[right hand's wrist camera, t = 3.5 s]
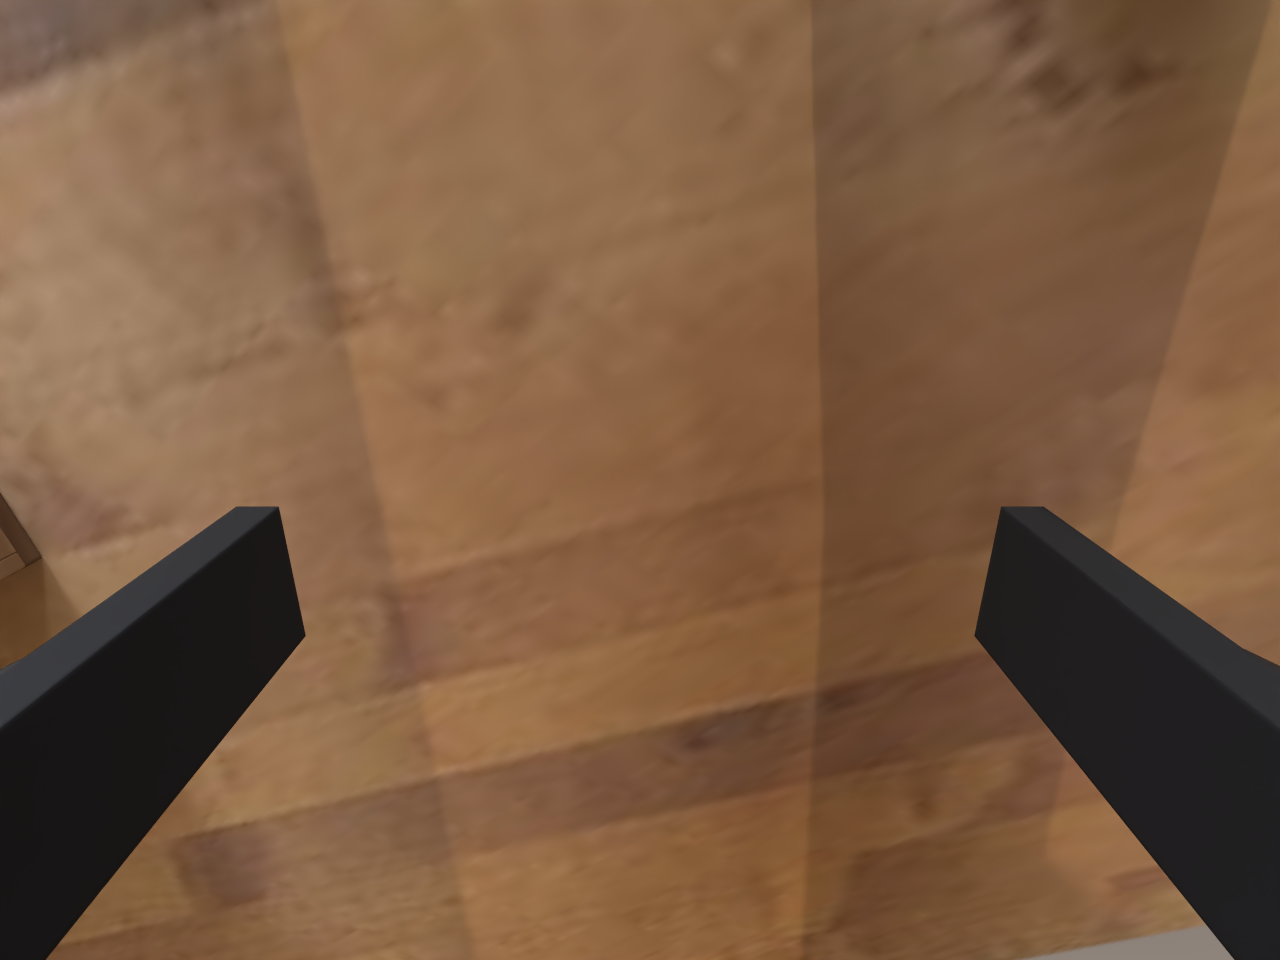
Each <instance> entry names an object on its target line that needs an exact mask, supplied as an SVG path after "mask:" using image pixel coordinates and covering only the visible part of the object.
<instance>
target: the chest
mask: <svg viewBox="0 0 1280 960" xmlns="http://www.w3.org/2000/svg"><path fill="white" fill-rule="evenodd" d="M41 558H42V557H41V556H40V554H39V553H38V551H37V550H36V548H35V547H34V545H33V544H32V542H31V541H30V539H29V538H28V536H27V534H26V533H25V531H24V530H23V528H22V527H21V525H20V524H19V522H18V521H17V519H16V518H15V516H14V515H13V513H12V512H11V510H10V509H9V507H8V506H7V504H6V503H5V501H4V500H3V498H2V497H1V495H0V581H1V580H2V579H4V578H6V577H8V576H9V575H11V574H13V573H15V572H17V571H18V570H20V569H22V568H24V567H27V566H28V565H30V564H32V563H34V562H35V561H37V560H39V559H41Z"/></svg>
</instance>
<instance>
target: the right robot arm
mask: <svg viewBox="0 0 1280 960" xmlns="http://www.w3.org/2000/svg"><path fill="white" fill-rule="evenodd" d="M305 636H306V635H305V630H304V626H303V621H302V616H301V611H300V606H299V602H298V597H297V592H296V587H295V583H294V578H293V573H292V568H291V563H290V559H289V554H288V549H287V544H286V539H285V535H284V530H283V525H282V520H281V515H280V511H279V507H235V508H234V509H232V510H231V511H230V512H228V513H227V514H225V515H224V516H223V517H221V518H220V519H218V520H217V521H216V522H214V523H213V524H211V525H210V526H209V527H207V528H206V529H204V530H203V531H202V532H200V533H199V534H197V535H196V536H195V537H193V538H192V539H190V540H189V541H188V542H186V543H185V544H183V545H182V546H181V547H179V548H178V549H176V550H175V551H174V552H172V553H171V554H169V555H168V556H166V557H165V558H164V559H162V560H161V561H159V562H158V563H157V564H155V565H154V566H152V567H151V568H150V569H148V570H147V571H145V572H144V573H143V574H141V575H140V576H138V577H137V578H136V579H134V580H133V581H131V582H130V583H129V584H127V585H126V586H124V587H123V588H122V589H120V590H119V591H117V592H116V593H115V594H113V595H112V596H110V597H109V598H108V599H106V600H105V601H103V602H102V603H101V604H99V605H98V606H96V607H95V608H93V609H92V610H91V611H89V612H88V613H86V614H85V615H84V616H82V617H81V618H79V619H78V620H77V621H75V622H74V623H72V624H71V625H70V626H68V627H67V628H65V629H64V630H63V631H61V632H60V633H58V634H57V635H56V636H54V637H53V638H51V639H50V640H49V641H47V642H46V643H44V644H43V645H42V646H40V647H39V648H37V649H36V650H35V651H33V652H32V653H30V654H29V655H27V656H26V657H24V658H22V659H20V660H18V661H16V662H14V663H12V664H10V665H8V666H6V667H4V668H2V669H0V960H46V958H47V957H48V956H49V955H50V954H51V952H52V951H53V950H54V949H55V947H56V946H57V945H58V944H59V942H60V941H61V940H62V939H63V937H64V936H65V935H66V934H67V932H68V931H69V930H70V929H71V927H72V926H73V925H74V924H75V922H76V921H77V920H78V919H79V917H80V916H81V915H82V914H83V912H84V911H85V910H86V909H87V907H88V906H89V905H90V904H91V902H92V901H93V900H94V899H95V897H96V896H97V895H98V894H99V892H100V891H101V890H102V889H103V887H104V886H105V885H106V884H107V883H108V881H109V880H110V879H111V878H112V876H113V875H114V874H115V873H116V871H117V870H118V869H119V868H120V866H121V865H122V864H123V863H124V861H125V860H126V859H127V858H128V856H129V855H130V854H131V853H132V851H133V850H134V849H135V848H136V846H137V845H138V844H139V843H140V841H141V840H142V839H143V838H144V836H145V835H146V834H147V833H148V831H149V830H150V829H151V828H152V826H153V825H154V824H155V823H156V821H157V820H158V819H159V818H160V816H161V815H162V814H163V813H164V812H165V810H166V809H167V808H168V807H169V805H170V804H171V803H172V802H173V800H174V799H175V798H176V797H177V795H178V794H179V793H180V792H181V790H182V789H183V788H184V787H185V785H186V784H187V783H188V782H189V780H190V779H191V778H192V777H193V775H194V774H195V773H196V772H197V770H198V769H199V768H200V767H201V765H202V764H203V763H204V762H205V760H206V759H207V758H208V757H209V755H210V754H211V753H212V752H213V750H214V749H215V748H216V747H217V746H218V744H219V743H220V742H221V741H222V739H223V738H224V737H225V736H226V734H227V733H228V732H229V731H230V729H231V728H232V727H233V726H234V724H235V723H236V722H237V721H238V719H239V718H240V717H241V716H242V714H243V713H244V712H245V711H246V709H247V708H248V707H249V706H250V704H251V703H252V702H253V701H254V699H255V698H256V697H257V696H258V694H259V693H260V692H261V691H262V689H263V688H264V687H265V686H266V684H267V683H268V682H269V681H270V679H271V678H272V677H273V676H274V675H275V673H276V672H277V671H278V670H279V668H280V667H281V666H282V665H283V663H284V662H285V661H286V660H287V658H288V657H289V656H290V655H291V653H292V652H293V651H294V650H295V648H296V647H297V646H298V645H299V643H300V642H301V641H302V640H303V638H304V637H305ZM974 636H975V637H976V638H977V640H978V641H979V642H980V643H981V645H982V646H983V647H984V648H985V650H986V651H987V652H988V653H989V655H990V656H991V657H992V658H993V660H994V661H995V662H996V663H997V665H998V666H999V667H1000V668H1001V670H1002V671H1003V672H1004V673H1005V675H1006V676H1007V677H1008V678H1009V679H1010V681H1011V682H1012V683H1013V684H1014V686H1015V687H1016V688H1017V689H1018V691H1019V692H1020V693H1021V694H1022V696H1023V697H1024V698H1025V699H1026V701H1027V702H1028V703H1029V704H1030V706H1031V707H1032V708H1033V709H1034V711H1035V712H1036V713H1037V714H1038V716H1039V717H1040V718H1041V719H1042V721H1043V722H1044V723H1045V724H1046V726H1047V727H1048V728H1049V729H1050V731H1051V732H1052V733H1053V734H1054V736H1055V737H1056V738H1057V739H1058V741H1059V742H1060V743H1061V744H1062V746H1063V747H1064V748H1065V749H1066V750H1067V752H1068V753H1069V754H1070V755H1071V757H1072V758H1073V759H1074V760H1075V762H1076V763H1077V764H1078V765H1079V767H1080V768H1081V769H1082V770H1083V772H1084V773H1085V774H1086V775H1087V777H1088V778H1089V779H1090V780H1091V782H1092V783H1093V784H1094V785H1095V787H1096V788H1097V789H1098V790H1099V792H1100V793H1101V794H1102V795H1103V797H1104V798H1105V799H1106V800H1107V802H1108V803H1109V804H1110V805H1111V807H1112V808H1113V809H1114V810H1115V812H1116V813H1117V814H1118V815H1119V817H1120V818H1121V819H1122V820H1123V821H1124V823H1125V824H1126V825H1127V826H1128V828H1129V829H1130V830H1131V831H1132V833H1133V834H1134V835H1135V836H1136V838H1137V839H1138V840H1139V841H1140V843H1141V844H1142V845H1143V846H1144V848H1145V849H1146V850H1147V851H1148V853H1149V854H1150V855H1151V856H1152V858H1153V859H1154V860H1155V861H1156V863H1157V864H1158V865H1159V866H1160V868H1161V869H1162V870H1163V871H1164V873H1165V874H1166V875H1167V876H1168V878H1169V879H1170V880H1171V881H1172V883H1173V884H1174V885H1175V886H1176V887H1177V889H1178V890H1179V891H1180V892H1181V894H1182V895H1183V896H1184V897H1185V899H1186V900H1187V901H1188V902H1189V904H1190V905H1191V906H1192V907H1193V909H1194V910H1195V911H1196V912H1197V914H1198V915H1199V916H1200V917H1201V919H1202V920H1203V921H1204V922H1205V924H1206V925H1207V926H1208V927H1209V929H1210V930H1211V931H1212V932H1213V934H1214V935H1215V936H1216V937H1217V939H1218V940H1219V941H1220V942H1221V944H1222V945H1223V946H1224V947H1225V948H1226V950H1227V951H1228V952H1229V954H1230V955H1231V956H1232V957H1233V958H1234V960H1280V666H1278V665H1276V664H1274V663H1272V662H1270V661H1268V660H1266V659H1264V658H1262V657H1260V656H1258V655H1256V654H1254V653H1251V652H1249V651H1247V650H1245V649H1243V648H1241V647H1240V646H1238V645H1237V644H1236V643H1234V642H1233V641H1231V640H1230V639H1229V638H1227V637H1226V636H1224V635H1223V634H1222V633H1220V632H1219V631H1217V630H1216V629H1215V628H1213V627H1212V626H1210V625H1209V624H1208V623H1206V622H1205V621H1203V620H1202V619H1201V618H1199V617H1198V616H1196V615H1195V614H1194V613H1192V612H1191V611H1189V610H1188V609H1187V608H1185V607H1184V606H1182V605H1181V604H1179V603H1178V602H1177V601H1175V600H1174V599H1172V598H1171V597H1170V596H1168V595H1167V594H1165V593H1164V592H1163V591H1161V590H1160V589H1158V588H1157V587H1156V586H1154V585H1153V584H1151V583H1150V582H1149V581H1147V580H1146V579H1144V578H1143V577H1142V576H1140V575H1139V574H1137V573H1136V572H1135V571H1133V570H1132V569H1130V568H1129V567H1128V566H1126V565H1125V564H1123V563H1122V562H1121V561H1119V560H1118V559H1116V558H1115V557H1114V556H1112V555H1111V554H1109V553H1108V552H1106V551H1105V550H1104V549H1102V548H1101V547H1099V546H1098V545H1097V544H1095V543H1094V542H1092V541H1091V540H1090V539H1088V538H1087V537H1085V536H1084V535H1083V534H1081V533H1080V532H1078V531H1077V530H1076V529H1074V528H1073V527H1071V526H1070V525H1069V524H1067V523H1066V522H1064V521H1063V520H1062V519H1060V518H1059V517H1057V516H1056V515H1055V514H1053V513H1052V512H1050V511H1049V510H1048V509H1046V508H1045V507H1001V511H1000V515H999V520H998V525H997V530H996V535H995V539H994V544H993V549H992V554H991V559H990V563H989V568H988V573H987V578H986V583H985V587H984V592H983V597H982V602H981V606H980V611H979V616H978V621H977V626H976V630H975V635H974Z"/></svg>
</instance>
